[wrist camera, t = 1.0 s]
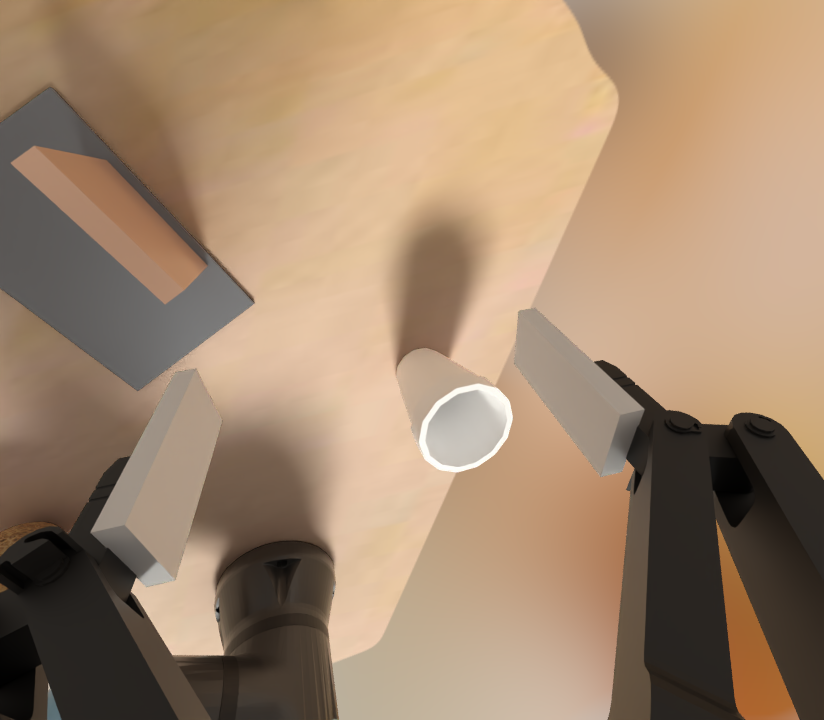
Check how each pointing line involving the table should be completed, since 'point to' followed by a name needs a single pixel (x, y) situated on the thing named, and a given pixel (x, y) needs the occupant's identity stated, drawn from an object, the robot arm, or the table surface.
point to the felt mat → (96, 261)
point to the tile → (114, 218)
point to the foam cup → (452, 411)
